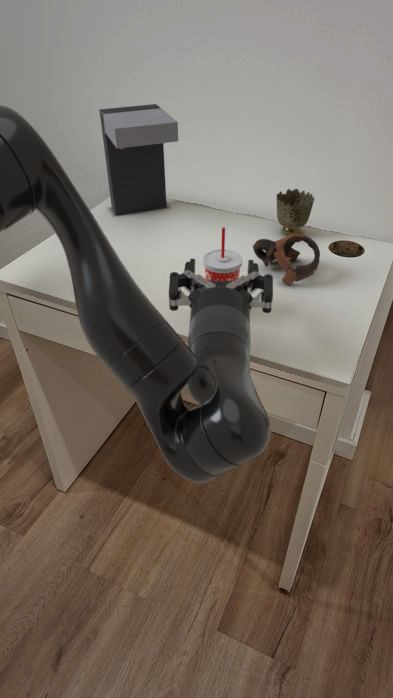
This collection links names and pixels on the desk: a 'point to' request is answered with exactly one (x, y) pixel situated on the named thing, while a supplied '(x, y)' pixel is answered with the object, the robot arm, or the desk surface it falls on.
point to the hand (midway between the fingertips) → (221, 264)
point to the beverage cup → (222, 263)
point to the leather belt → (287, 256)
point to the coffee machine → (136, 155)
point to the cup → (293, 210)
